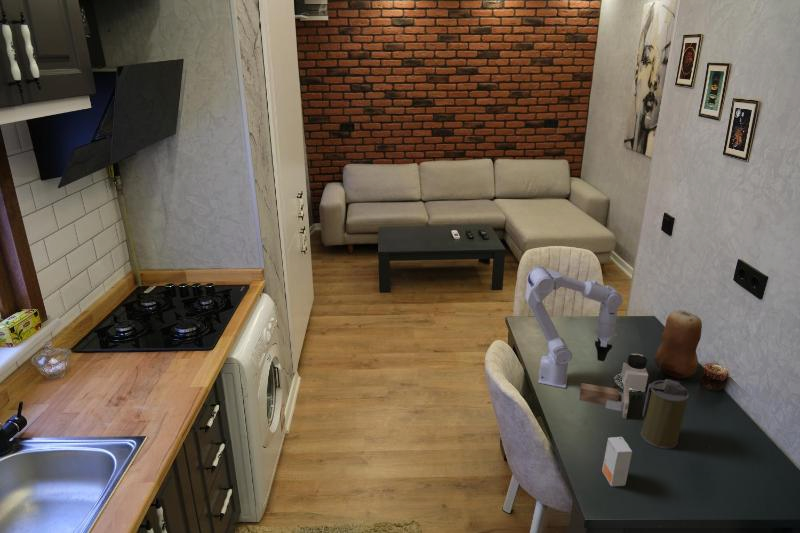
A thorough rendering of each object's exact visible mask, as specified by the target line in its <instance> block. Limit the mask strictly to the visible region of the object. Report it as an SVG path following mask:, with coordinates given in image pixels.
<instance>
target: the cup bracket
mask: <svg viewBox="0 0 800 533" xmlns="http://www.w3.org/2000/svg"><path fill="white" fill-rule="evenodd" d="M623 407H624V393H623V392H621V391H619V398H618V401H614V400H609V399H607V402H606V405H605V409H609V410H613V411H618V412H622V411H623Z"/></svg>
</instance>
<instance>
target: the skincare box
mask: <svg viewBox="0 0 800 533" xmlns="http://www.w3.org/2000/svg"><path fill="white" fill-rule="evenodd" d="M632 455H633V450H632V449H631V447H630V446H629V444H628V443H627V442H626V441H625V439H624V437H623V436H612V437H608V438H607V442H606V448H605V452H604V458H603V464H602V469H601V472H602V473H603V475H604V476H605V478H606V480H607V482H608V483H609V485H610V487H624V486H626V483H627V478H628V475H629V469H630V465H631V459H632Z"/></svg>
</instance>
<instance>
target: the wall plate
mask: <svg viewBox="0 0 800 533" xmlns="http://www.w3.org/2000/svg"><path fill="white" fill-rule="evenodd" d="M622 391H623V392H622V393H624V407H623V412H622V419H625V420H626V419H627V416H628V415H627V414H628V411H629V407H630V406H629V404H630V391H629V380H625V385H624V389H623V390H622Z"/></svg>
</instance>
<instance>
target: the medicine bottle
mask: <svg viewBox="0 0 800 533" xmlns="http://www.w3.org/2000/svg"><path fill="white" fill-rule="evenodd" d="M647 363H648V358H647V357H646V356H644V355H643V354H640V353H631V354H628V357H627V362H623V364H622V370H621V374H620V377H621V376H622V380H623V384H624V385H625V380H629V388H632V389H636V390H639V391H641V392H640V393H645V392H646V389H647V386H648V385H647V384H648V380H649V373H648V371H647Z"/></svg>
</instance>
